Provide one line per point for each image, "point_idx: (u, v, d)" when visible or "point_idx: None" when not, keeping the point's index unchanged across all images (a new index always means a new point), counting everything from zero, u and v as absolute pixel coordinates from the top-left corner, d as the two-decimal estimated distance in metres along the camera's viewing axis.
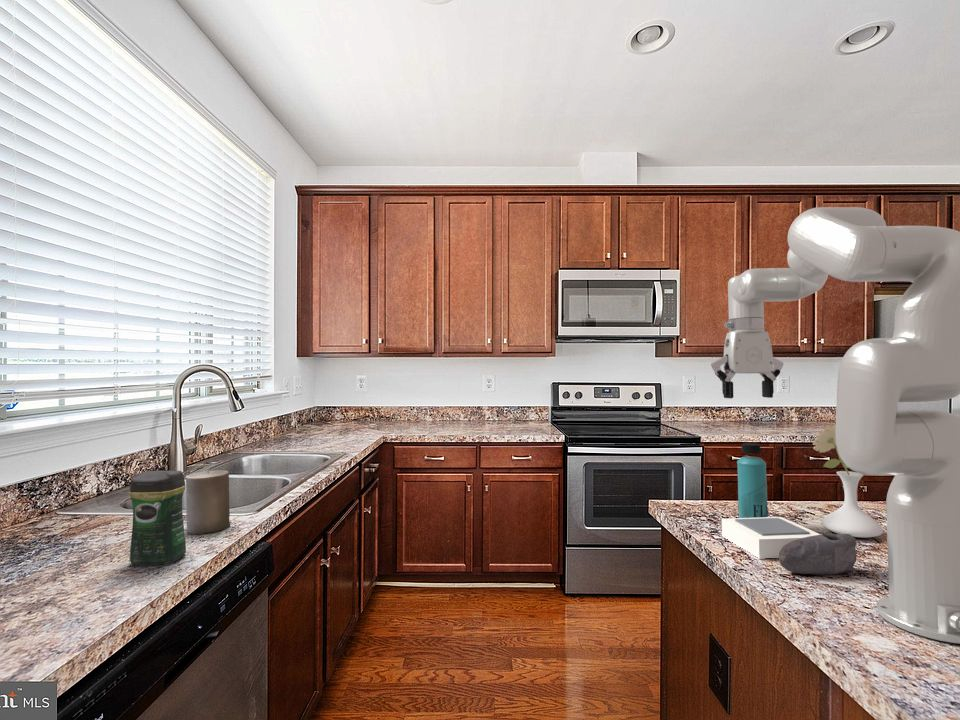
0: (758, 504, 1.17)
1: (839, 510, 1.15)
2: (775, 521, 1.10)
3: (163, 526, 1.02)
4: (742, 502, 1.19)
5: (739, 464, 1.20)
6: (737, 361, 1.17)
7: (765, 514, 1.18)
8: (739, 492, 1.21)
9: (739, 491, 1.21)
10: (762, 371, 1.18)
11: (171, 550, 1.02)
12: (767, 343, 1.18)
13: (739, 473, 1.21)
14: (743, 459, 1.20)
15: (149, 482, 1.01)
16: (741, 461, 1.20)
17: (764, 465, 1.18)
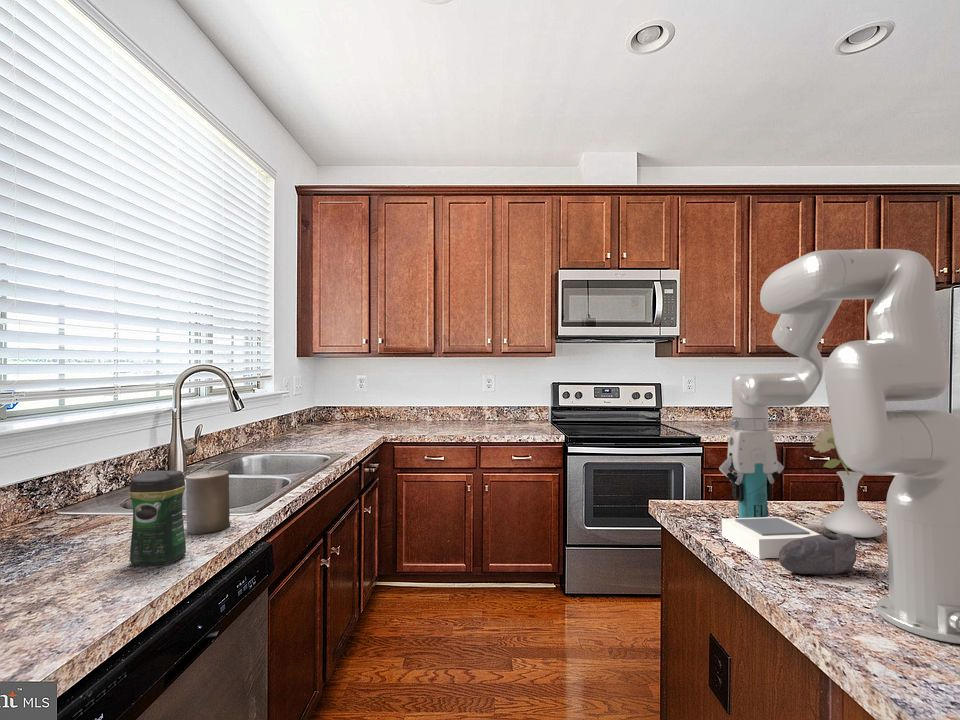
0: (758, 504, 1.17)
1: (839, 510, 1.15)
2: (775, 521, 1.10)
3: (163, 526, 1.02)
4: (742, 502, 1.19)
5: None
6: (741, 462, 1.18)
7: (765, 514, 1.18)
8: None
9: None
10: (766, 471, 1.18)
11: (171, 550, 1.02)
12: (771, 443, 1.18)
13: None
14: None
15: (149, 482, 1.01)
16: None
17: None
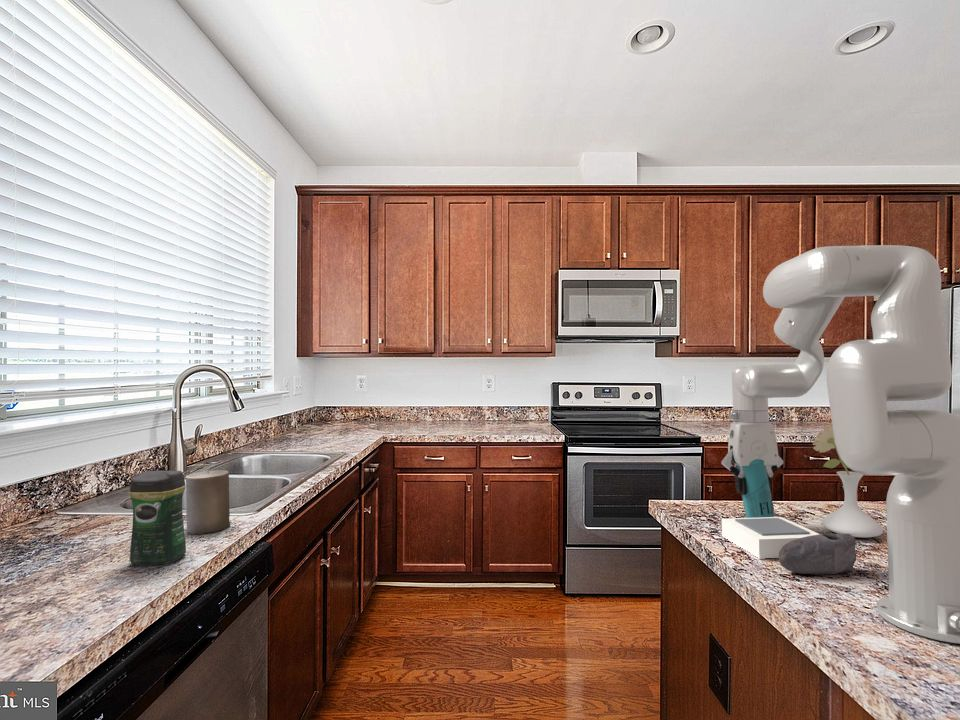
0: (763, 501, 1.17)
1: (839, 510, 1.15)
2: (775, 521, 1.10)
3: (163, 526, 1.02)
4: (747, 501, 1.19)
5: None
6: (742, 454, 1.18)
7: (771, 509, 1.18)
8: None
9: None
10: (767, 464, 1.18)
11: (171, 550, 1.02)
12: (772, 435, 1.18)
13: None
14: None
15: (149, 482, 1.01)
16: None
17: None
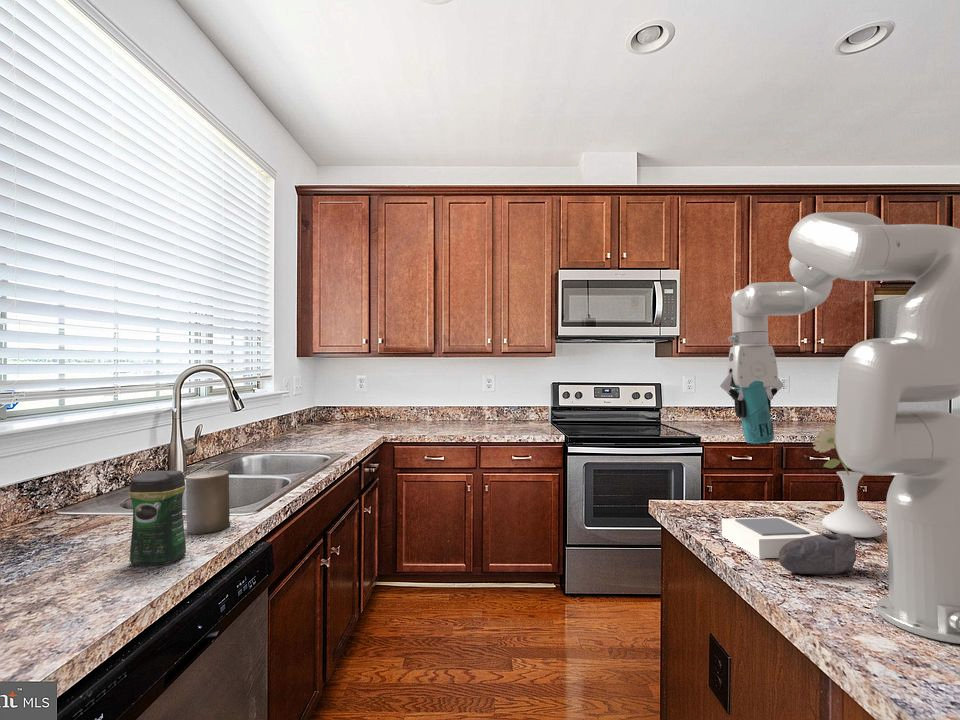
0: (763, 423, 1.16)
1: (839, 510, 1.15)
2: (775, 521, 1.10)
3: (163, 526, 1.02)
4: (747, 424, 1.18)
5: (738, 387, 1.18)
6: (741, 375, 1.16)
7: (771, 431, 1.17)
8: None
9: None
10: (767, 385, 1.16)
11: (171, 550, 1.02)
12: (772, 357, 1.17)
13: None
14: None
15: (149, 482, 1.01)
16: None
17: (763, 383, 1.17)
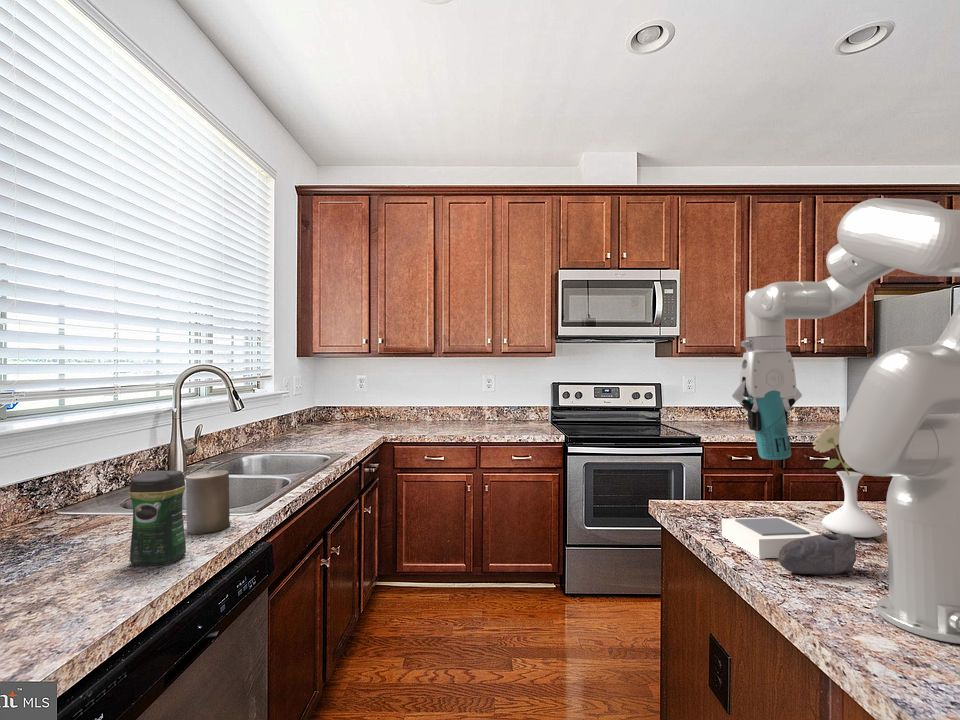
0: (780, 437, 1.05)
1: (839, 510, 1.15)
2: (775, 521, 1.10)
3: (163, 526, 1.02)
4: (761, 438, 1.07)
5: (752, 397, 1.07)
6: (756, 385, 1.05)
7: (788, 446, 1.05)
8: None
9: None
10: (784, 396, 1.05)
11: (171, 550, 1.02)
12: (789, 364, 1.06)
13: None
14: None
15: (149, 483, 1.01)
16: None
17: None
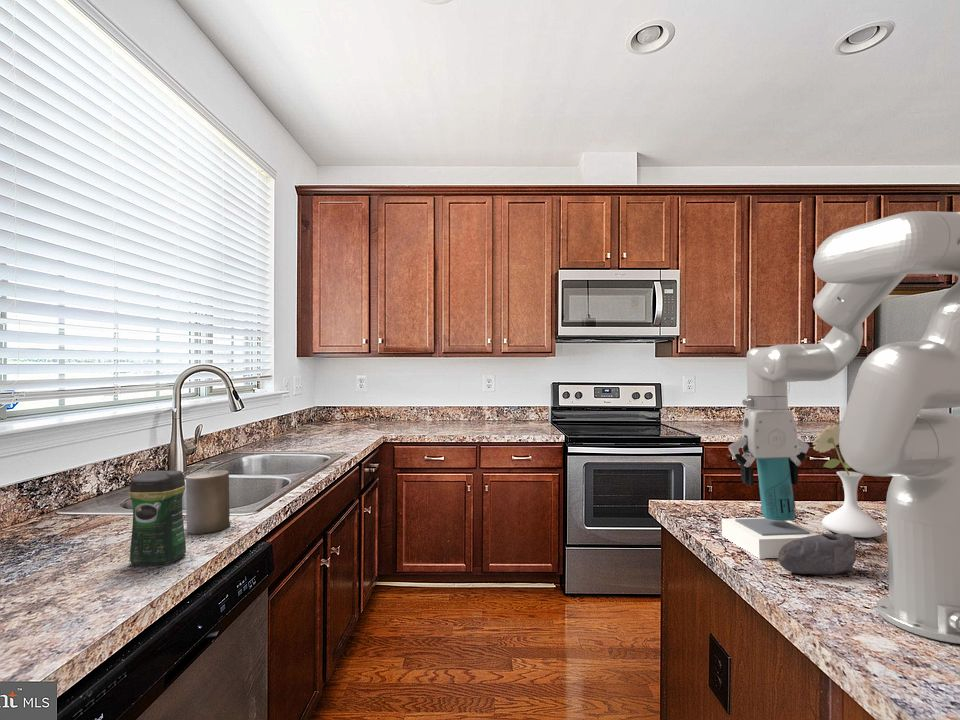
0: (784, 498, 1.05)
1: (839, 510, 1.15)
2: (775, 521, 1.10)
3: (163, 526, 1.02)
4: (766, 497, 1.07)
5: None
6: (758, 445, 1.05)
7: (793, 508, 1.05)
8: (761, 486, 1.08)
9: (761, 485, 1.08)
10: (786, 456, 1.05)
11: (171, 550, 1.02)
12: (791, 424, 1.05)
13: (759, 465, 1.08)
14: None
15: (149, 482, 1.01)
16: None
17: None
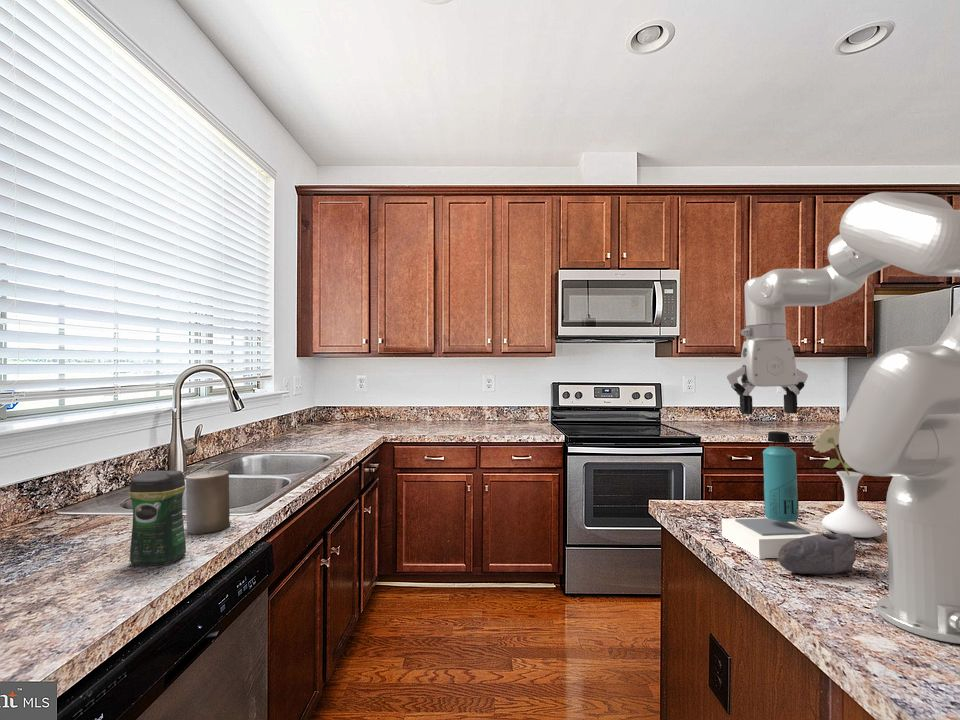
0: (789, 499, 1.05)
1: (839, 510, 1.15)
2: (775, 521, 1.10)
3: (163, 526, 1.02)
4: (770, 497, 1.07)
5: (766, 455, 1.08)
6: (756, 373, 1.05)
7: (796, 510, 1.05)
8: (766, 486, 1.08)
9: (766, 485, 1.08)
10: (785, 384, 1.05)
11: (171, 550, 1.02)
12: (790, 352, 1.05)
13: (765, 465, 1.08)
14: (771, 449, 1.07)
15: (149, 483, 1.01)
16: (769, 451, 1.07)
17: (794, 455, 1.06)
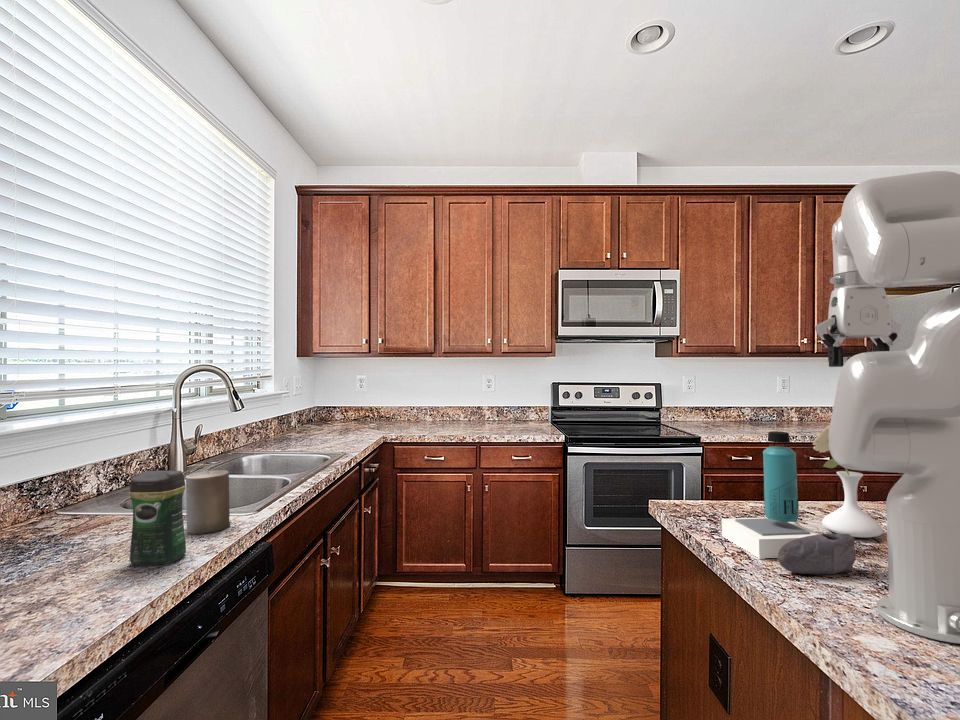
0: (789, 499, 1.05)
1: (839, 510, 1.15)
2: (775, 521, 1.10)
3: (163, 526, 1.02)
4: (770, 497, 1.07)
5: (766, 455, 1.08)
6: (849, 322, 0.99)
7: (796, 510, 1.05)
8: (766, 486, 1.08)
9: (766, 485, 1.08)
10: (878, 334, 0.99)
11: (171, 550, 1.02)
12: (884, 300, 1.00)
13: (765, 465, 1.08)
14: (771, 449, 1.07)
15: (149, 482, 1.01)
16: (769, 451, 1.07)
17: (794, 455, 1.06)
